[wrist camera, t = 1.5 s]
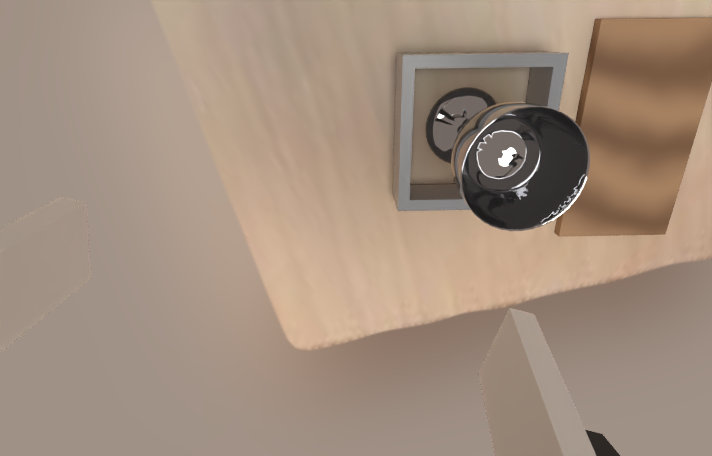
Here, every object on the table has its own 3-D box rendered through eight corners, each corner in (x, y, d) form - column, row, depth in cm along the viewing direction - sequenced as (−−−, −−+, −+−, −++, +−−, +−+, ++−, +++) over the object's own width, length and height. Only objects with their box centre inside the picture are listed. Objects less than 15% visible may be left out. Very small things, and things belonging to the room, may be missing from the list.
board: (595, 19, 37) (601, 19, 36) (721, 18, 37) (731, 17, 36) (554, 232, 45) (558, 236, 44) (658, 230, 45) (665, 234, 44)
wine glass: (520, 137, 41) (610, 187, 27) (448, 184, 42) (497, 253, 29) (481, 64, 38) (558, 77, 24) (405, 116, 40) (437, 157, 26)
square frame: (396, 53, 38) (402, 55, 33) (544, 51, 38) (568, 53, 34) (392, 194, 43) (398, 210, 39) (522, 192, 43) (541, 208, 39)
